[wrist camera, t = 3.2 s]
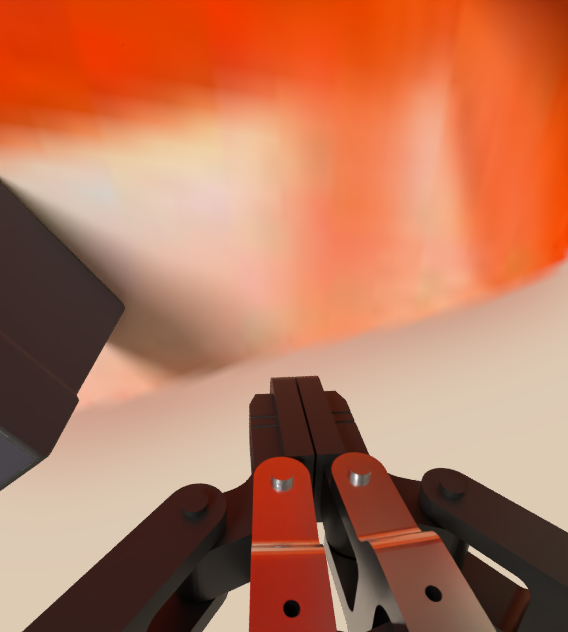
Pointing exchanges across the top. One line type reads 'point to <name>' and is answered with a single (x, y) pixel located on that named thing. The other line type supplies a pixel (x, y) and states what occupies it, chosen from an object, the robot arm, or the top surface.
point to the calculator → (43, 335)
